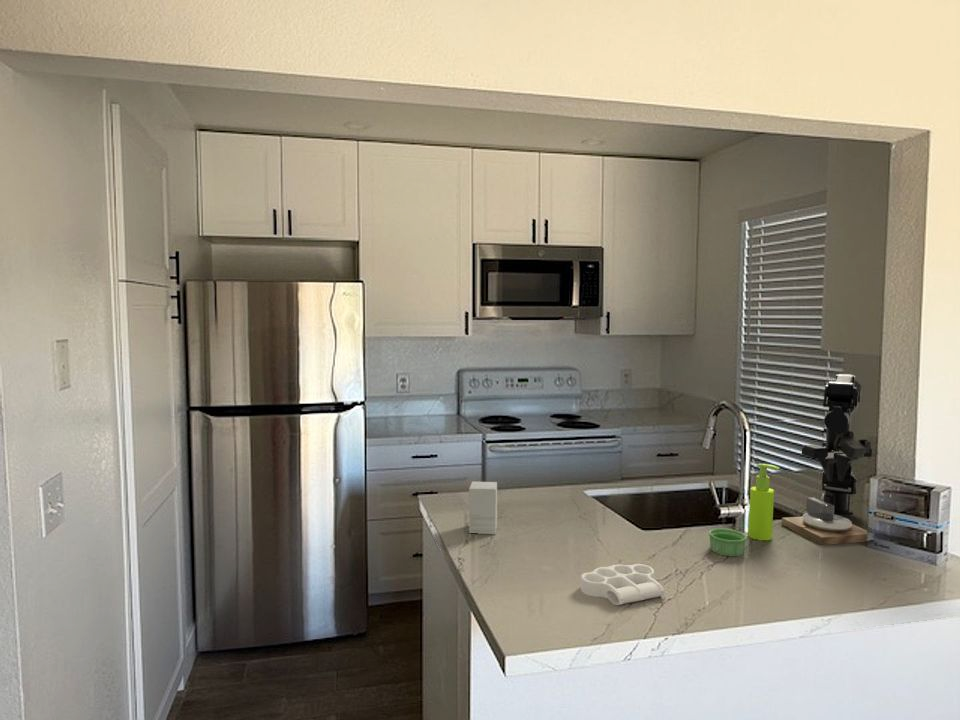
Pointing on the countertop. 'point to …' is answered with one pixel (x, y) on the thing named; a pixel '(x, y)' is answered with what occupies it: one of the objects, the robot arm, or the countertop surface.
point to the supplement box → (483, 507)
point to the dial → (824, 517)
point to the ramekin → (727, 542)
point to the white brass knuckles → (622, 583)
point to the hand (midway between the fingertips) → (835, 480)
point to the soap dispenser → (761, 506)
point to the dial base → (825, 532)
